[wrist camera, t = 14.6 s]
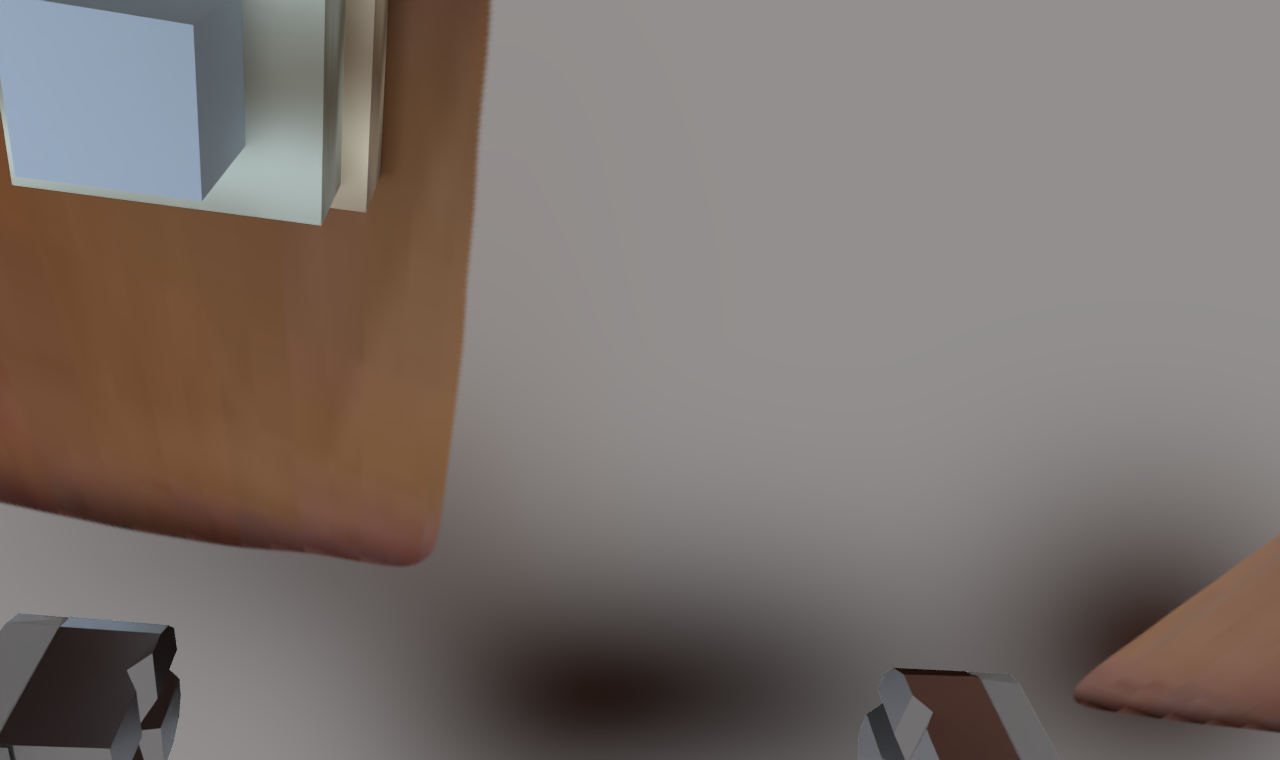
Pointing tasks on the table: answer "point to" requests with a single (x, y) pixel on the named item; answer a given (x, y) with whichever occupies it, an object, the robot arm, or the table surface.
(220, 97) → the slate brick
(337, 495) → the table surface
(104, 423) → the table surface
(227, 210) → the cream stepped block
